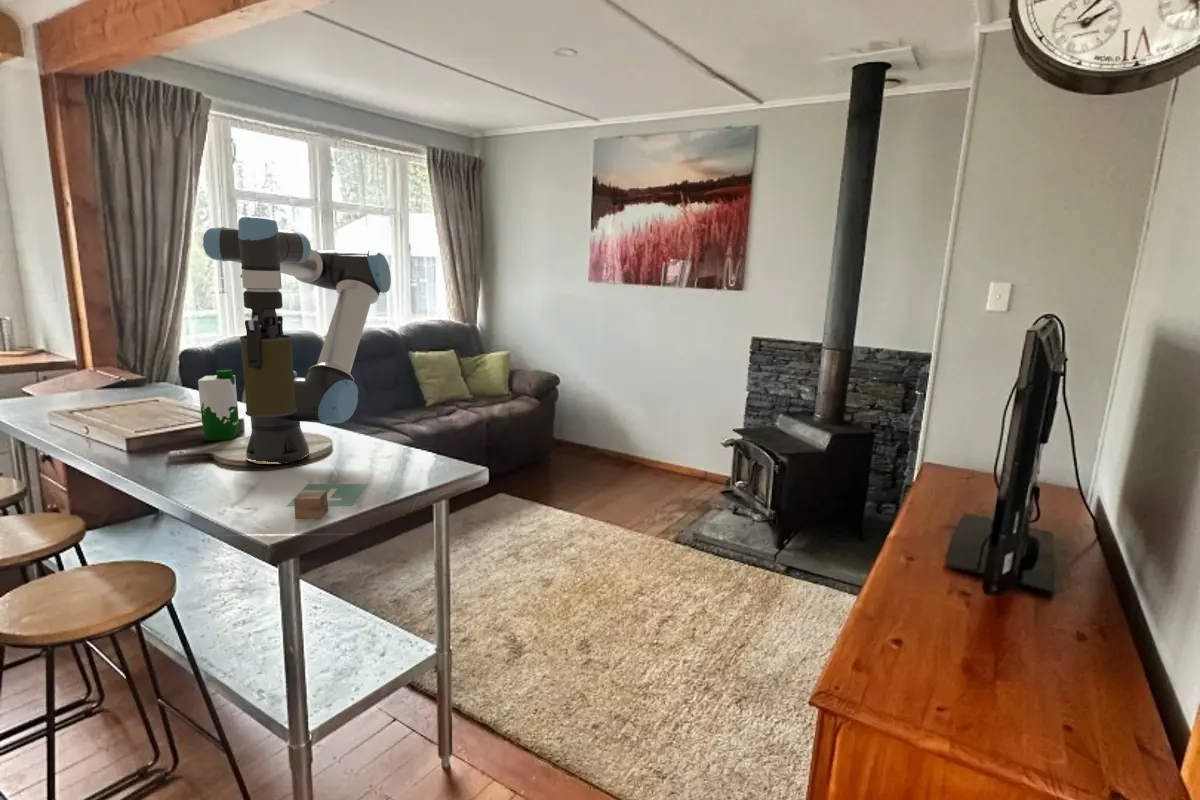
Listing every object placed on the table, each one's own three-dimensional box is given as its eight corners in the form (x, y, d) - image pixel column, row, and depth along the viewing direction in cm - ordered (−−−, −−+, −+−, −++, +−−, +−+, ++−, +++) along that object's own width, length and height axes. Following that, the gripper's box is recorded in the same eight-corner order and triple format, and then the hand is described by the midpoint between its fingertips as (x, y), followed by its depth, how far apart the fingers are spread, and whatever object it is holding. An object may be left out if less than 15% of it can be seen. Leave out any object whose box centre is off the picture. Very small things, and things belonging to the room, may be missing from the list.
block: (304, 511, 135) (302, 490, 134) (328, 511, 135) (326, 490, 134) (295, 521, 130) (293, 498, 129) (320, 521, 131) (319, 498, 129)
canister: (304, 413, 143) (299, 326, 139) (255, 420, 136) (248, 327, 131) (285, 405, 150) (280, 321, 146) (238, 411, 143) (231, 323, 139)
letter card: (308, 485, 150) (308, 483, 150) (368, 485, 152) (368, 483, 152) (286, 507, 136) (286, 506, 136) (352, 507, 138) (352, 505, 138)
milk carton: (235, 440, 183) (229, 373, 178) (200, 441, 180) (193, 373, 176) (242, 432, 191) (237, 367, 187) (209, 433, 188) (202, 368, 184)
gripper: (263, 288, 146) (270, 385, 151) (222, 291, 127) (231, 402, 132) (297, 289, 147) (303, 386, 151) (260, 292, 128) (268, 402, 133)
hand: (269, 393), depth 142 cm, fingers open, 6 cm apart
